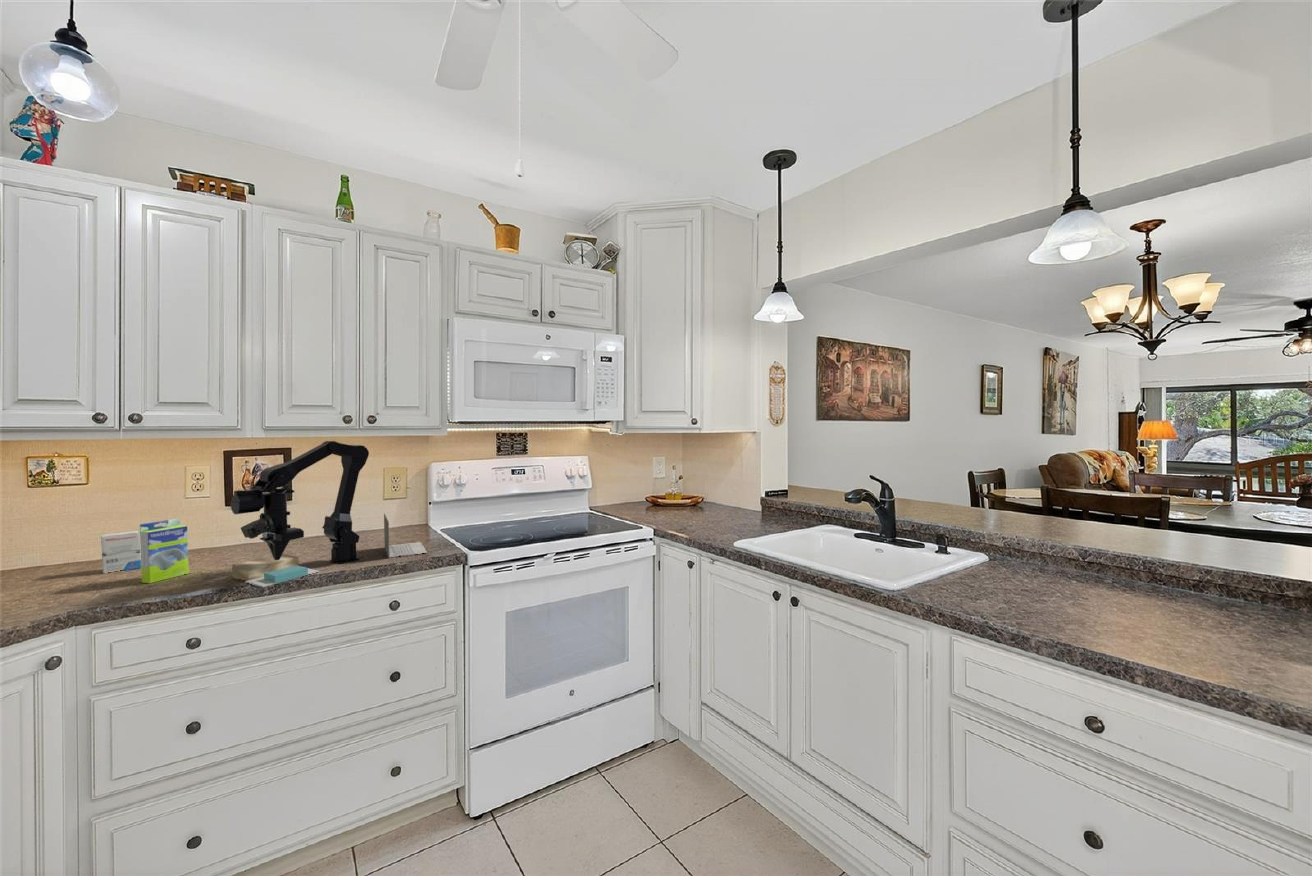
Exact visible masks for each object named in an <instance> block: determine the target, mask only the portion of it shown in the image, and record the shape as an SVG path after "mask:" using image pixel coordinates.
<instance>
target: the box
mask: <svg viewBox="0 0 1312 876" xmlns="http://www.w3.org/2000/svg"><path fill="white" fill-rule="evenodd" d="M160 523H161V524H165V525H160V526H155V525H159V524H160ZM139 530H140V531H139V538H140V552H141V583H144V584H152V583H157V582H161V581H166V580H170V579H172V578H176V577H182V576H185V575H184V574H186V575H189V571H190V570H189V568H190V567H189V545H188V544H189V541H188V538H189V537H188V536H189V535H188V534H189V533H188V531H189V530H188V525H187V524H186V525H185V524H180V518H179V517H178V518H173V519H172V518H171V519H166V520H165V519H164V520H160V521H153V522H147V523H141V524H140V523H139Z"/></svg>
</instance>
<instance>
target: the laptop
mask: <svg viewBox="0 0 1312 876" xmlns="http://www.w3.org/2000/svg"><path fill="white" fill-rule="evenodd" d="M383 525H384V526H383V528H384V529H383V530H384V532H383V535H384V538H383V539H384V548H385V552H386V554H387V557H388V559H395V558H394V557H397V558H398V557H399V556H401V557H403V556H404V557H406V556H407V557H410V555H411V556H416V555H415V554H418V555H423V554H422V553H425V554H428V553H427V552H428V551H427V549H426V548H425V547H424V545H423V543H422V542H421V541H417V542H410V543H408V542H407V543H402V544H401V543H399V544H391V545H390V521H389V519H388V518H387V516H386V514H385V513H383ZM392 557H393V558H392Z"/></svg>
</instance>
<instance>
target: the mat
mask: <svg viewBox="0 0 1312 876" xmlns="http://www.w3.org/2000/svg"><path fill="white" fill-rule="evenodd" d="M307 568H308V567H307ZM319 571H320V570H318V569H314V568H308V574H312V573H316V572H319ZM316 574H317V573H316ZM312 575H313V574H312ZM300 577H301V578H303V577H302V576H300ZM300 577H296V578H292V579H288V580H284V581H280V582H276V583H275V582H271V581H267V580H264V577H261V578H257V579H253V580H249V581H244V582H245V584H247V583H249V584H248V585H251V584H252V586H256V587H260V588H265V587H270V586H273V585H276V584H281V583H285V582H288V581H289V582H290V581H292V580H296V579H300ZM304 577H306V576H305V575H304Z"/></svg>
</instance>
